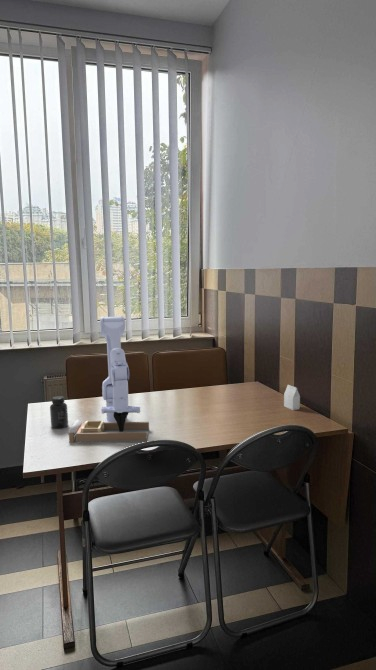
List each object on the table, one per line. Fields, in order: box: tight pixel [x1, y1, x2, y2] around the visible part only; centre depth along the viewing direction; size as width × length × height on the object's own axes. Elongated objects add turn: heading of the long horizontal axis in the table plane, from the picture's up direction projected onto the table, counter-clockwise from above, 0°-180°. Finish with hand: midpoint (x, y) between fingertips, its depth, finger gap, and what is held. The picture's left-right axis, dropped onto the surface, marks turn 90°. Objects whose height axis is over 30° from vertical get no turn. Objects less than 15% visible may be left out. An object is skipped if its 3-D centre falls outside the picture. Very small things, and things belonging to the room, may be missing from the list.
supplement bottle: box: [49, 395, 69, 429], centre depth 196 cm, size 7×7×12 cm
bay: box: [67, 419, 150, 444], centre depth 184 cm, size 13×29×5 cm, turn 90°
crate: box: [81, 420, 105, 433], centre depth 184 cm, size 9×7×4 cm
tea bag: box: [283, 384, 301, 411], centre depth 218 cm, size 4×7×10 cm, turn 24°
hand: (121, 430), depth 184 cm, fingers closed
